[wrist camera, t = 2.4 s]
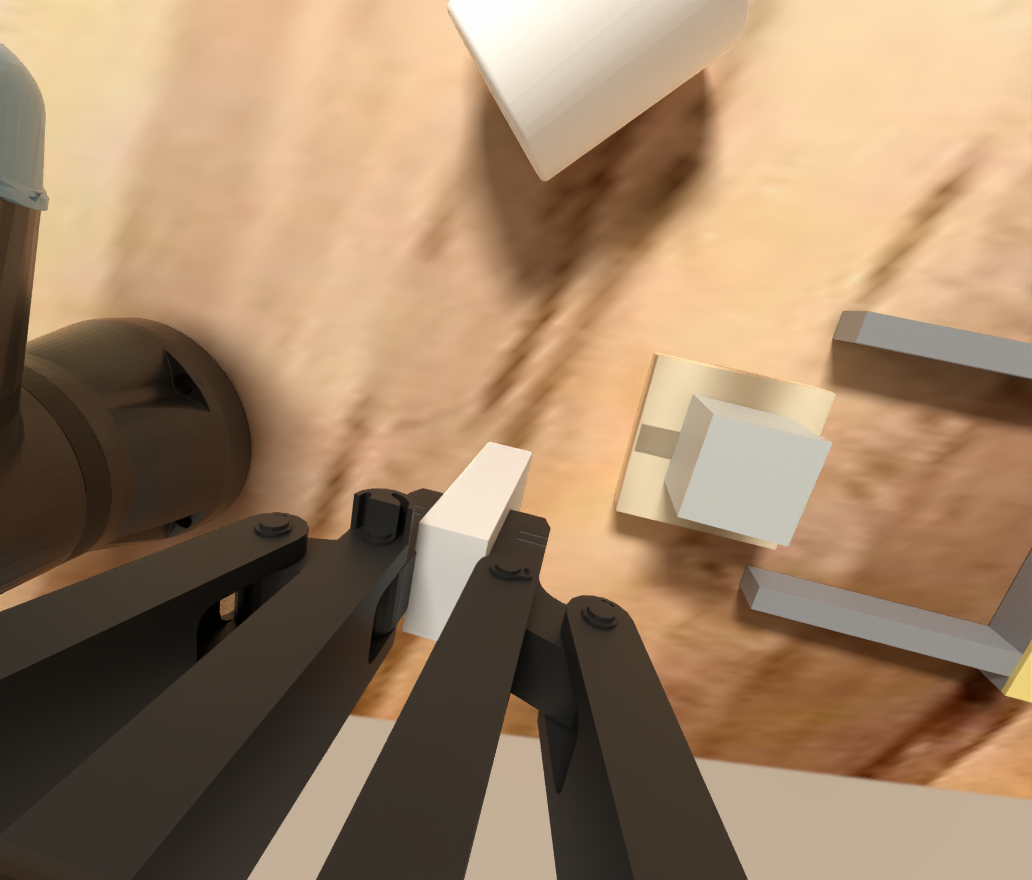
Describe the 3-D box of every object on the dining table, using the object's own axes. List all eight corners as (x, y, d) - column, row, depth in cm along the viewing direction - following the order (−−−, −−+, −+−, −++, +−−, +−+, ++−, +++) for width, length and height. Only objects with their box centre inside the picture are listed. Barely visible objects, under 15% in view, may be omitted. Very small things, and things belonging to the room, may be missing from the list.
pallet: (614, 492, 31) (615, 510, 29) (652, 351, 29) (658, 356, 26) (759, 527, 31) (775, 549, 28) (811, 384, 28) (836, 393, 25)
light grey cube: (664, 480, 28) (677, 516, 23) (693, 394, 26) (713, 413, 21) (755, 504, 27) (787, 546, 22) (789, 417, 26) (832, 443, 21)
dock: (734, 599, 31) (746, 626, 29) (850, 291, 26) (879, 289, 23) (1004, 670, 30) (1044, 705, 27) (1189, 357, 24) (1261, 363, 22)
